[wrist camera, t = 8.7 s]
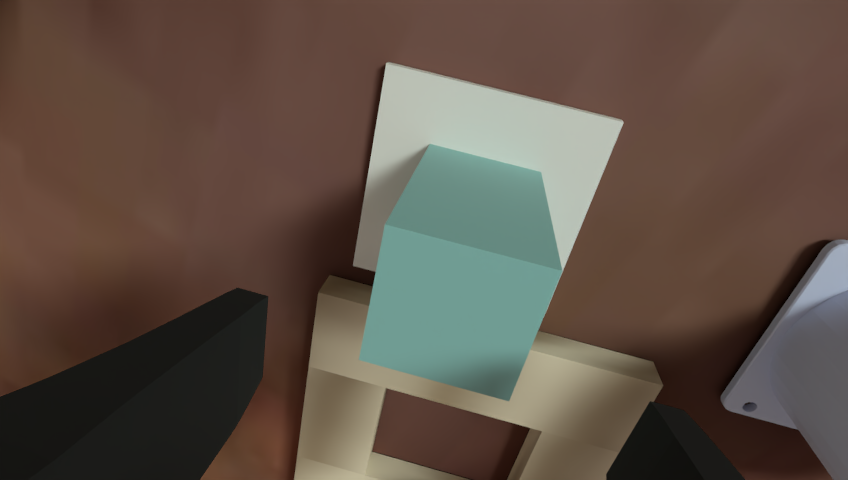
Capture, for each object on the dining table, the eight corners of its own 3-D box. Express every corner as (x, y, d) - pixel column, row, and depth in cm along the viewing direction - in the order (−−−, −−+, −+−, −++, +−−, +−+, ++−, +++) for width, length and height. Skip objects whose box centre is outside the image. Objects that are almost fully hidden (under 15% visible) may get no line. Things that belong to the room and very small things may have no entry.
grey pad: (621, 119, 16) (623, 122, 15) (543, 311, 19) (544, 316, 19) (388, 62, 16) (386, 63, 16) (355, 261, 20) (352, 265, 19)
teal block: (541, 171, 16) (562, 270, 10) (507, 268, 18) (508, 401, 12) (429, 143, 17) (384, 224, 10) (408, 241, 18) (358, 359, 12)
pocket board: (653, 361, 20) (663, 385, 18) (543, 551, 26) (545, 578, 25) (329, 274, 20) (318, 292, 19) (300, 481, 27) (290, 504, 25)
